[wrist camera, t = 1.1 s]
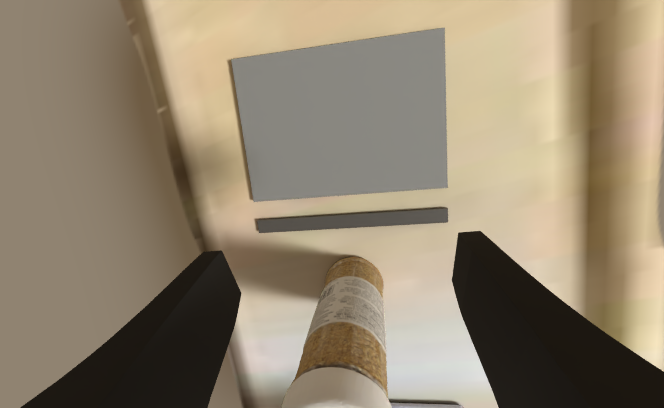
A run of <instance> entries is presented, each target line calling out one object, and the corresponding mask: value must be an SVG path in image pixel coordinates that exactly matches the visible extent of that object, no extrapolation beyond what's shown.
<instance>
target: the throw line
mask: <svg viewBox="0 0 664 408" xmlns="http://www.w3.org/2000/svg"><path fill="white" fill-rule="evenodd" d="M257 222H258V229H259V233H268V232H286V231H304V230H321V229H339V228H357V227H375V226H392V225H410V224H428V223H446V222H448V208H433V209H417V210H401V211H385V212H369V213H354V214H338V215H322V216H306V217H290V218H275V219H259V220H257Z"/></svg>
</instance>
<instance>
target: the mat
mask: <svg viewBox="0 0 664 408" xmlns="http://www.w3.org/2000/svg"><path fill="white" fill-rule="evenodd" d="M231 62H232V68H233V74H234V81H235V87H236V93H237V100H238V106H239V112H240V119H241V125H242V131H243V138H244V144H245V150H246V156H247V163H248V169H249V175H250V182H251V188H252V194H253V201H254V202H258V201H272V200H286V199H300V198H313V197H327V196H341V195H355V194H368V193H382V192H396V191H410V190H423V189H437V188H448V183H447V130H446V77H445V28H439V29H432V30H425V31H418V32H412V33H405V34H398V35H392V36H385V37H378V38H371V39H365V40H358V41H351V42H345V43H338V44H331V45H324V46H318V47H311V48H304V49H298V50H291V51H284V52H277V53H271V54H264V55H257V56H251V57H244V58H237V59H231Z"/></svg>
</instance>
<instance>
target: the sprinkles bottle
mask: <svg viewBox="0 0 664 408" xmlns="http://www.w3.org/2000/svg"><path fill="white" fill-rule="evenodd" d="M382 293H383V280H382V277H381V274H380V272H379V270H378V269H377V268H376V267H375V266H374V265H373V264H372V263H370V262H369V261H367V260H365V259H362V258H359V257H350V258H345V259H341V260H339V261H337V262H336V263H335V264H334V265H333V266H332V267H331V268H330V269H329V271H328V273H327V276H326V279H325V287H324V289H323V291H322V293H321V296H320V298H319V301H318V305H317V308H316V311H315V313H314V316H313V319H312V322H311V326H310V329H309V332H308V335H307V338H306V341H305V344H304V348H303V354H302V357H301V360H300V365H299V368H298V371H297V374H296V377H295V379H294V381H293V382H292V384H291V386H290V387H289V389H288V390H287V392H286V395H285V398H284V401H283V404H282V407H281V408H392V407H391V404H390V402H389V400H388V392H387V372H386V327H385V312H384V302H383V299H382V298H383V296H382Z"/></svg>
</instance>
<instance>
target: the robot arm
mask: <svg viewBox="0 0 664 408" xmlns="http://www.w3.org/2000/svg"><path fill="white" fill-rule="evenodd" d="M452 283H453V286H454V290H455V294H456V298H457V301H458V305H459V308H460V312H461V314H462V317H463V320H464V322H465V325H466V327H467V329H468V332H469V334H470V337H471V339H472V342H473V344H474V347H475V349H476V352H477V354H478V356H479V359H480V361H481V364H482V366H483V369H484V371H485V373H486V376H487V378H488V381H489V383H490V386H491V388H492V391H493V393H494V396H495V399H496V401H497V404H498V407H499V408H664V372H663V371H662V370H660V369H659V368H657V367H655V366H654V365H652V364H651V363H649V362H648V361H646V360H645V359H643V358H642V357H640V356H639V355H637V354H636V353H634V352H633V351H631V350H630V349H628V348H627V347H625V346H624V345H622V344H621V343H620V342H618V341H617V340H615V339H614V338H612V337H611V336H609V335H608V334H606V333H605V332H604V331H602V330H601V329H599V328H598V327H597V326H595V325H594V324H592V323H591V322H590V321H588V320H587V319H586V318H584V317H583V316H582V315H580V314H579V313H578V312H576V311H575V310H574V309H572V308H571V307H570V306H568V305H567V304H566V303H564V302H563V301H562V300H561V299H559V298H558V297H557V296H556V295H554V294H553V293H552V292H551V291H549V290H548V289H547V288H546V287H545V286H543V285H542V284H541V283H540V282H538V281H537V280H536V279H535V278H534V277H532V276H531V275H530V274H529V273H528V272H526V271H525V270H524V269H523V268H522V267H521V266H519V265H518V264H517V263H516V262H515V261H514V260H513V259H511V258H510V257H509V256H508V255H507V254H506V253H505V252H504V251H502V250H501V249H500V248H499V247H498V246H497V245H496V244H495V243H493V242H492V241H491V240H490V239H489V238H488V237H487V236H485V235H484V234H483V233H482V232H481V231H474V232H461V233H458V240H457V247H456V254H455V262H454V269H453V277H452ZM240 297H241V292H240V289H239V287H238V285H237V283H236V281H235V278H234V276H233V274H232V272H231V270H230V267H229V265H228V263H227V261H226V259H225V256H224V254H223V252H222V251H210V252H203V253H202V254H201V255H200V256H198V257H197V258H196V259H195V260H194V261H193V262H192V263H191V264H190V265H189V266H188V267H187V268H186V269H185V270H184V271H182V273H180V274H179V276H178V277H176V278H175V279H174V280H173V281H172V282H171V283H170V284H169V285H168V286H167V287H166V288H165V289H164V290H163V291H162V292H161V293H160V294H159V295H158V296H156V297H155V298H154V299H153V301H151V302H150V303H149V304H148V305H147V306H146V307H145V308H144V309H143V310H142V311H140V313H138V314H137V315H136V316H135V317H134V318H133V319H132V320H130V322H128V323H127V324H126V325H125V326H124V327H123V328H121V330H119V331H118V332H117V333H116V334H115V335H114V336H113V337H111V338H110V339H109V340H108V341H107V342H106V343H104V344H103V345H102V346H101V347H100V348H98V349H97V350H96V351H95V352H94V353H92V354H91V355H90V356H89V357H87V358H86V359H85V360H84V361H82V362H81V363H80V364H78V365H77V366H76V367H75V368H73V369H72V370H71V371H70V372H68V373H67V374H66V375H64V376H63V377H62V378H61V379H59V380H58V381H57V382H56V383H54V384H53V385H51V386H50V387H48V388H47V389H46V390H44V391H43V392H41V393H40V394H39V395H37V396H36V397H35V398H33V399H32V400H30V401H29V402H27V403H26V404H25V405H23V406H22V407H21V408H207V407H208V404H209V401H210V397H211V394H212V391H213V389H214V386H215V383H216V380H217V377H218V374H219V371H220V368H221V365H222V362H223V359H224V356H225V353H226V350H227V347H228V344H229V341H230V338H231V335H232V332H233V329H234V326H235V322H236V318H237V313H238V308H239V303H240ZM390 404H391V407H392V408H463V407H462V406H461V405H447V404H413V403H390Z"/></svg>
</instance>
